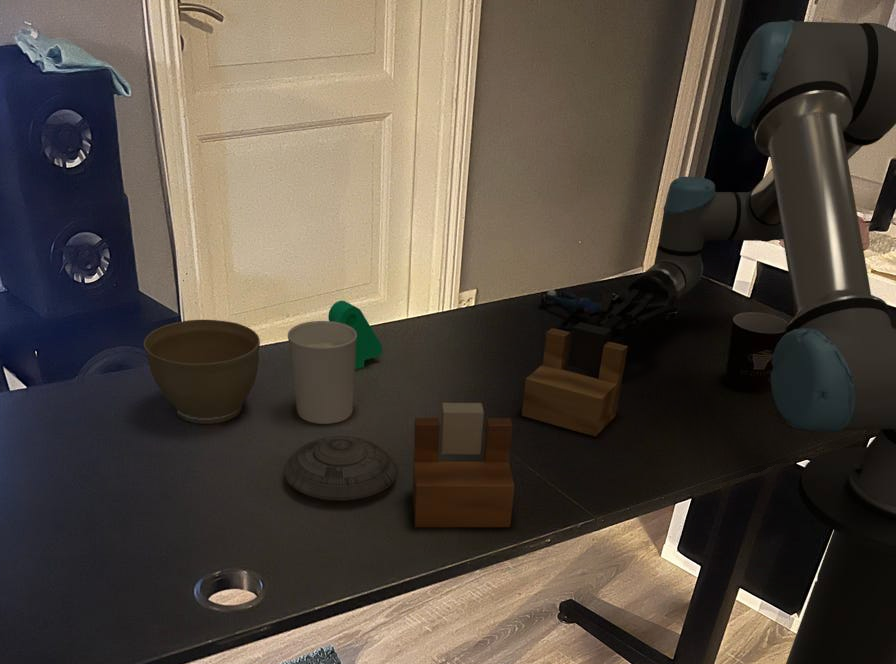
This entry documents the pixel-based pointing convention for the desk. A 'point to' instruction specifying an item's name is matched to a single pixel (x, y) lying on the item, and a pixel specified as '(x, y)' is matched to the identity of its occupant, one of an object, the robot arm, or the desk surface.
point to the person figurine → (572, 304)
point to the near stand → (462, 480)
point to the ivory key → (461, 428)
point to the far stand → (574, 388)
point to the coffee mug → (753, 349)
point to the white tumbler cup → (323, 370)
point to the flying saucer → (340, 469)
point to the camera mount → (357, 331)
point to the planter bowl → (204, 366)
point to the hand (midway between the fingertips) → (601, 338)
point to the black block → (588, 346)
